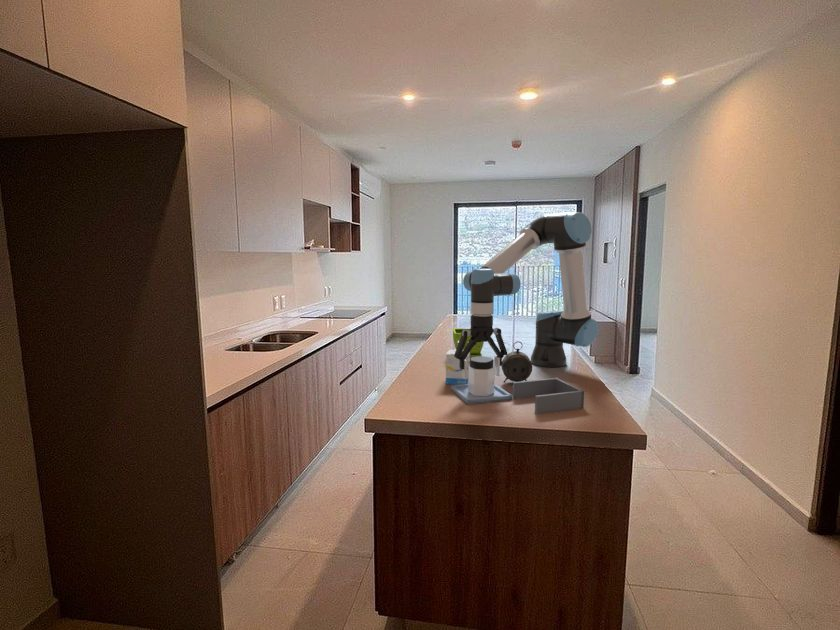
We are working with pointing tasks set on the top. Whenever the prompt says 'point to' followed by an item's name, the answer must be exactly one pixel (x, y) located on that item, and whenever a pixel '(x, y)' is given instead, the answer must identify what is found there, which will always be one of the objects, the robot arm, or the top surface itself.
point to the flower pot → (476, 348)
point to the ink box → (455, 369)
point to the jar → (481, 376)
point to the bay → (550, 394)
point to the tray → (471, 399)
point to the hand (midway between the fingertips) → (480, 376)
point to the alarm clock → (516, 366)
